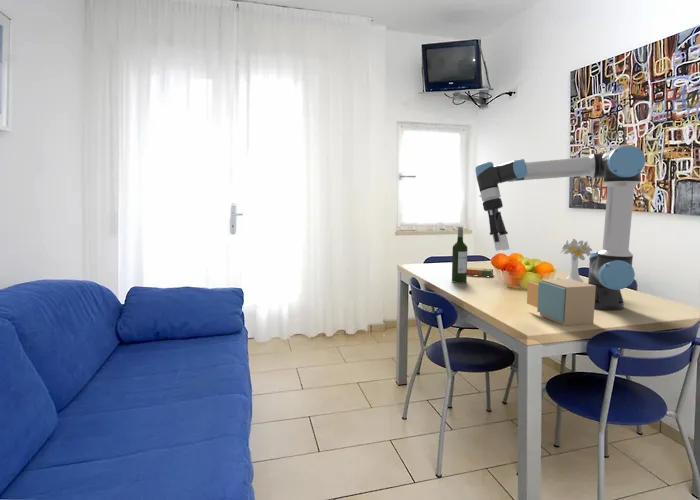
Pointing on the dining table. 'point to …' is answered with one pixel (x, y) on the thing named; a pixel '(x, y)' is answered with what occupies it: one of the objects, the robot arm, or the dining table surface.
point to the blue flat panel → (547, 299)
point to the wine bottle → (459, 259)
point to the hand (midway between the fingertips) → (503, 250)
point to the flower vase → (576, 257)
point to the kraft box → (575, 301)
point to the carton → (480, 272)
